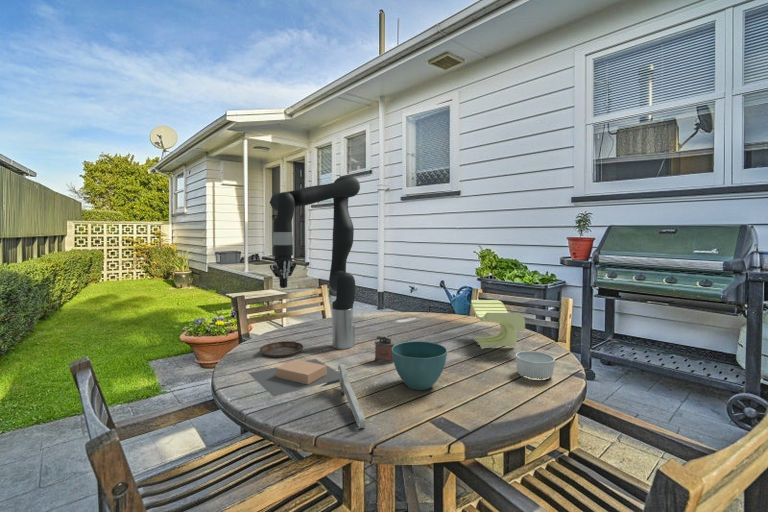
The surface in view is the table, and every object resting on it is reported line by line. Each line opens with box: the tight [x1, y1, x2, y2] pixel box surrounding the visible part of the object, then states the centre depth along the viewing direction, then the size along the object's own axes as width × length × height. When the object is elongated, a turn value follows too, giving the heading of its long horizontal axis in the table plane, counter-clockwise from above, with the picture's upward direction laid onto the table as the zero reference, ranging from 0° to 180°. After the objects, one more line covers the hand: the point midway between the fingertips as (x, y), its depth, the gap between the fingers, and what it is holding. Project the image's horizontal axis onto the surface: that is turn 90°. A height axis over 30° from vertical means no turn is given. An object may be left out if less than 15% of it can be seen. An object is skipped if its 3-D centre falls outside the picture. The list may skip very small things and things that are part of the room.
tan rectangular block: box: [276, 359, 328, 384], centre depth 133 cm, size 3×10×14 cm
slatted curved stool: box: [470, 299, 526, 347], centre depth 174 cm, size 30×16×18 cm, turn 179°
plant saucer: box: [259, 340, 304, 359], centre depth 161 cm, size 18×18×3 cm
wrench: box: [337, 363, 367, 429], centre depth 113 cm, size 8×2×30 cm
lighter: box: [374, 335, 395, 364], centre depth 151 cm, size 8×3×10 cm, turn 65°
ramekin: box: [514, 350, 556, 379], centre depth 137 cm, size 13×13×7 cm
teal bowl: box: [392, 341, 448, 391], centre depth 128 cm, size 18×18×12 cm
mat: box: [248, 358, 341, 397], centre depth 134 cm, size 26×24×1 cm
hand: (283, 287), depth 152 cm, fingers closed
